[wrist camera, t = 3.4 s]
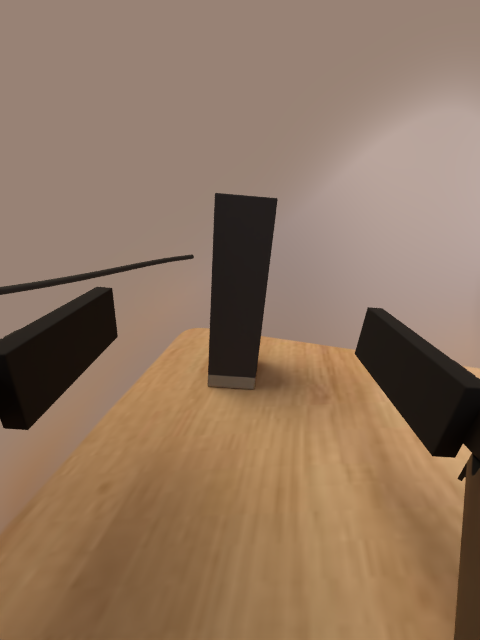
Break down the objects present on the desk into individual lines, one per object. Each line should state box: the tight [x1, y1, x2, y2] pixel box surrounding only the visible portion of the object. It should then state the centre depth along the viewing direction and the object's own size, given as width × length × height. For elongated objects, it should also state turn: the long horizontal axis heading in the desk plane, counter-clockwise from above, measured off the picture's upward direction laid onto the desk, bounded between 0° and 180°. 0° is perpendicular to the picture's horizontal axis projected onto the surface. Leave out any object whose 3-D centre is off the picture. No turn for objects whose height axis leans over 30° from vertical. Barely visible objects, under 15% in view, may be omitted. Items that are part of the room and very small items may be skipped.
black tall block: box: [208, 193, 277, 389], centre depth 22 cm, size 5×4×15 cm
